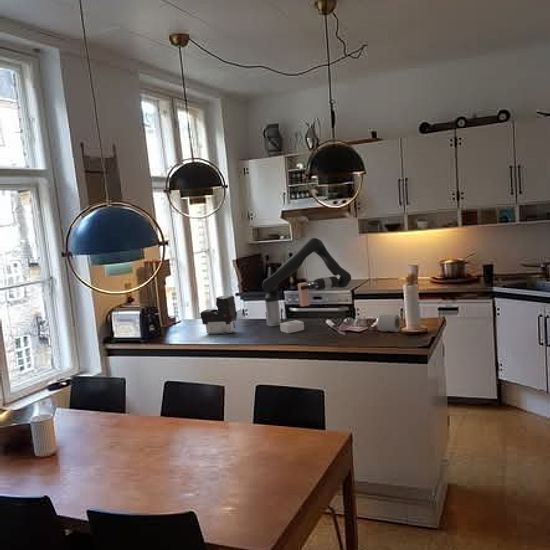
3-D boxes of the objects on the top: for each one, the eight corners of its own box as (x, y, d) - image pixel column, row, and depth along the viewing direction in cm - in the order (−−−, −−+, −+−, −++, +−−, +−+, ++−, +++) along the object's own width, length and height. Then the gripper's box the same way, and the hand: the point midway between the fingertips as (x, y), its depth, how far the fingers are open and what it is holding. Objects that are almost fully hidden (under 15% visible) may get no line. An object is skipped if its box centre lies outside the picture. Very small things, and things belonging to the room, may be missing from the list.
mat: (296, 334, 347) (296, 334, 347) (308, 330, 356) (308, 329, 356) (307, 336, 341) (306, 335, 341) (319, 331, 349) (319, 330, 349)
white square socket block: (287, 334, 350) (286, 324, 350) (280, 332, 359) (279, 322, 359) (304, 331, 355) (303, 321, 355) (297, 329, 364) (296, 319, 364)
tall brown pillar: (303, 306, 343) (300, 284, 342) (300, 305, 347) (297, 283, 346) (310, 305, 346) (307, 282, 344) (306, 304, 349) (304, 282, 348)
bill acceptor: (209, 332, 386) (205, 296, 383) (239, 331, 378) (235, 295, 375) (202, 335, 376) (198, 299, 373) (233, 334, 368) (228, 297, 365)
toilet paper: (401, 329, 331) (400, 313, 330) (394, 333, 323) (393, 316, 322) (385, 329, 337) (384, 313, 336) (378, 332, 329) (377, 316, 328)
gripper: (316, 277, 357) (293, 281, 350) (328, 278, 344) (304, 282, 337) (317, 288, 358) (294, 293, 351) (329, 290, 345) (305, 294, 338)
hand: (299, 287), depth 344 cm, fingers closed on tall brown pillar, 4 cm apart
